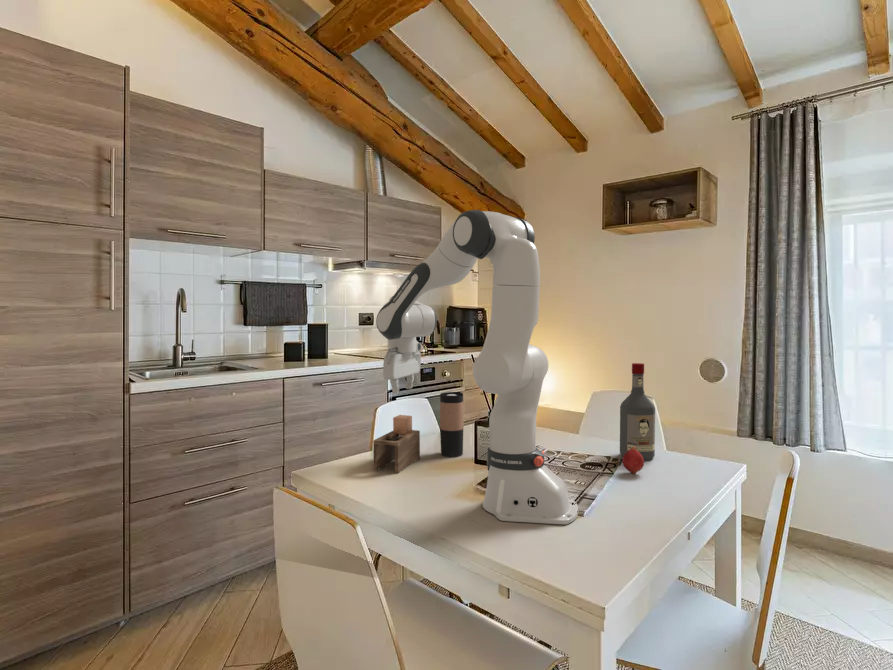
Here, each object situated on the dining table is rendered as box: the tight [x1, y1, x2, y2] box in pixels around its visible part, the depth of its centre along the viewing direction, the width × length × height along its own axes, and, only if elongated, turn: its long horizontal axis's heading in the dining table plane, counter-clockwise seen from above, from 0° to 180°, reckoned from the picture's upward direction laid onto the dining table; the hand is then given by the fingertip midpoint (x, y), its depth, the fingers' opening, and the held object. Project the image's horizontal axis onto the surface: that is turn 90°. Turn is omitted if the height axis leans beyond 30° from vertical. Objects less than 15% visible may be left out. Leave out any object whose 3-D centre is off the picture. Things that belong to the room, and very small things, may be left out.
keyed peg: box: [392, 414, 413, 441], centre depth 163 cm, size 4×4×8 cm
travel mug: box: [439, 391, 464, 458], centre depth 171 cm, size 8×8×20 cm
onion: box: [621, 447, 645, 475], centre depth 150 cm, size 6×6×8 cm
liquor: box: [619, 362, 656, 461], centre depth 167 cm, size 9×9×30 cm
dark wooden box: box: [372, 429, 421, 474], centre depth 160 cm, size 8×16×9 cm, turn 160°
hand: (402, 390), depth 163 cm, fingers open, 8 cm apart
